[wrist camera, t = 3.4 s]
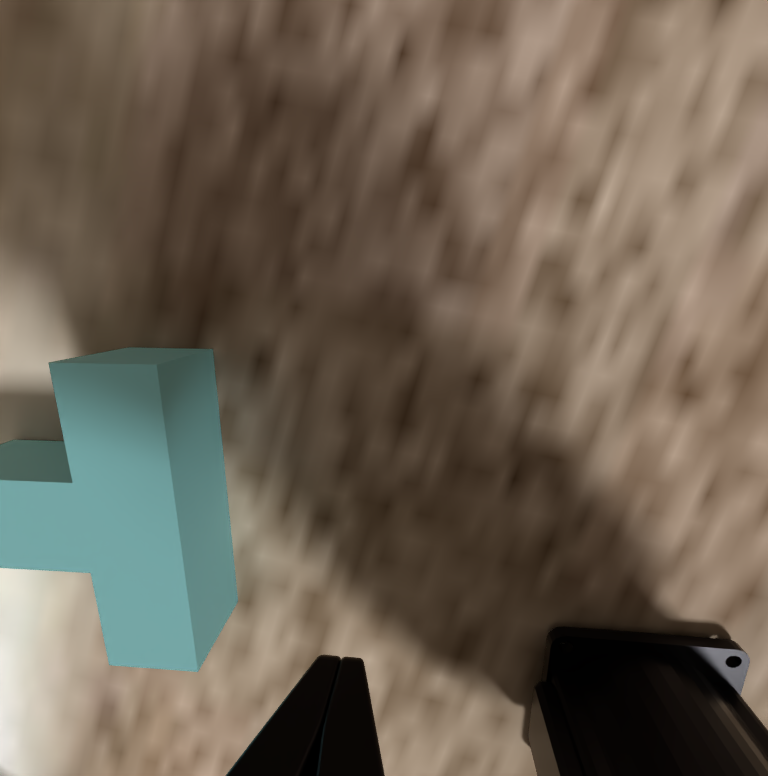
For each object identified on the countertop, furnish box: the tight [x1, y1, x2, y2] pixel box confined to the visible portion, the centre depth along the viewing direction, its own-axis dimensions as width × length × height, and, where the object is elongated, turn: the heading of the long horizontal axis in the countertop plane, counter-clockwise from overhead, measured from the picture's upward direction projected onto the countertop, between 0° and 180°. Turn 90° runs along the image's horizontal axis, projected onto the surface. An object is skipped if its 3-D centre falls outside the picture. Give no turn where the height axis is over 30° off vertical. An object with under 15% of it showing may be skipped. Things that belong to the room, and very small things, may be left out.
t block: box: [0, 347, 238, 672], centre depth 13 cm, size 8×10×3 cm
